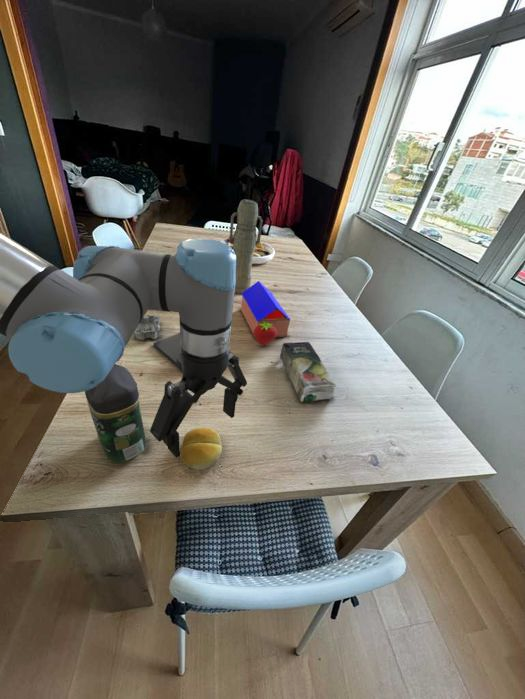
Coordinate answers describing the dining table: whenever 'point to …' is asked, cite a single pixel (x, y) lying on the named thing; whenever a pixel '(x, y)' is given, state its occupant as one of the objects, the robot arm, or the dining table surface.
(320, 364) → the juice carton
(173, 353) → the red button pad
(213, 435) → the bread roll
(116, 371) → the coffee jar
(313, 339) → the dining table surface
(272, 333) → the strawberry
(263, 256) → the bowl
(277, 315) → the house
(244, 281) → the thermos
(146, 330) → the egg carton
